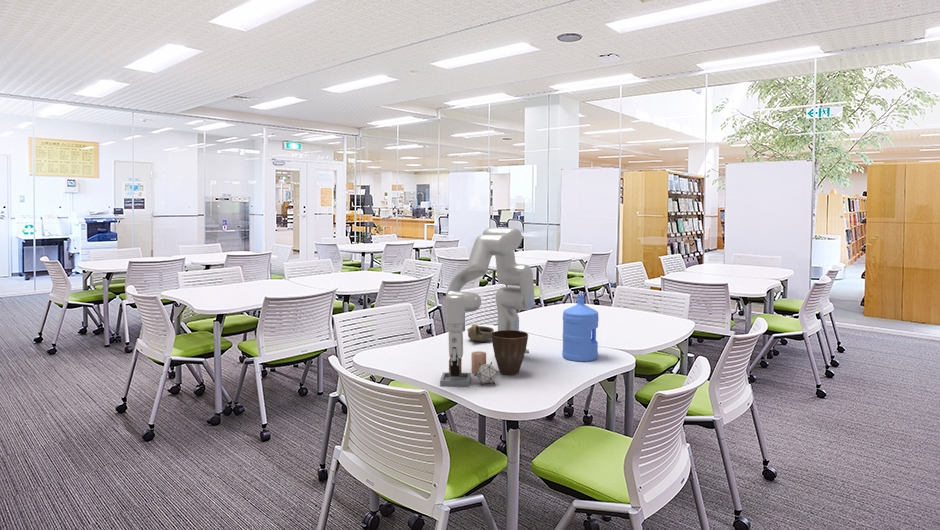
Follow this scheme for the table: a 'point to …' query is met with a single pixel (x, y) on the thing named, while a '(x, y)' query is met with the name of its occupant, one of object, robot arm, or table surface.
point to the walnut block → (459, 367)
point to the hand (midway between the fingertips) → (455, 373)
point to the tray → (455, 380)
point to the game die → (486, 373)
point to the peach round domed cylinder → (477, 360)
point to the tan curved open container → (480, 333)
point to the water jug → (580, 332)
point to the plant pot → (509, 350)
